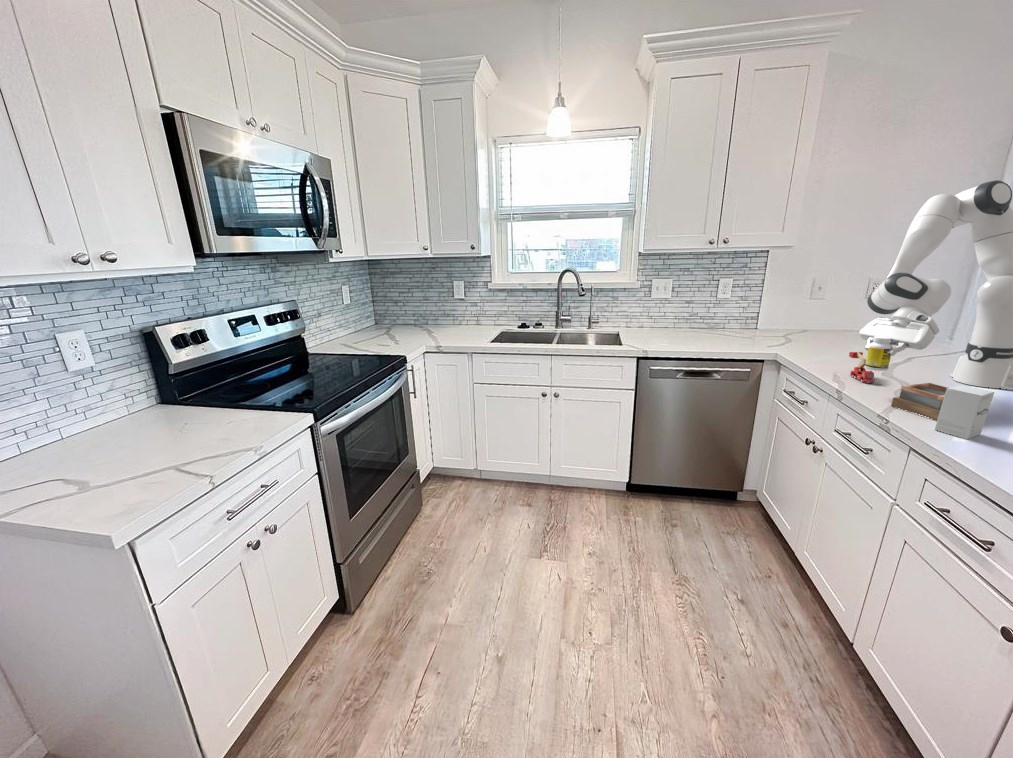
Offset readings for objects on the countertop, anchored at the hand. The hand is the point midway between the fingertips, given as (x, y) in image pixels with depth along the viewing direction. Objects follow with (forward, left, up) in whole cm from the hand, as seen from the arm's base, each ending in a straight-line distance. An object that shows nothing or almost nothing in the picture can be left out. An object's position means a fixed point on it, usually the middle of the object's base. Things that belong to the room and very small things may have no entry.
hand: (878, 351), depth 148 cm
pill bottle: (-1, 0, -6) cm, 6 cm away
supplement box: (+7, +31, -16) cm, 36 cm away
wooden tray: (-3, +17, -15) cm, 23 cm away
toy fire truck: (-15, -16, -16) cm, 26 cm away
